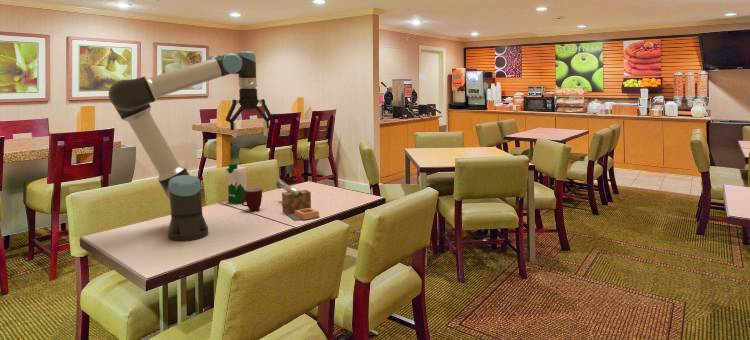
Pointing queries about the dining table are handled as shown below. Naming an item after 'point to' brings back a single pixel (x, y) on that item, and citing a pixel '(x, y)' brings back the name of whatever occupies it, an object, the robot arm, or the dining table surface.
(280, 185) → the shaft
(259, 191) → the mug
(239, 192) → the milk carton
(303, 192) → the cradle block
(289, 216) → the mat
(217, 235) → the dining table surface
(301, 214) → the frame
